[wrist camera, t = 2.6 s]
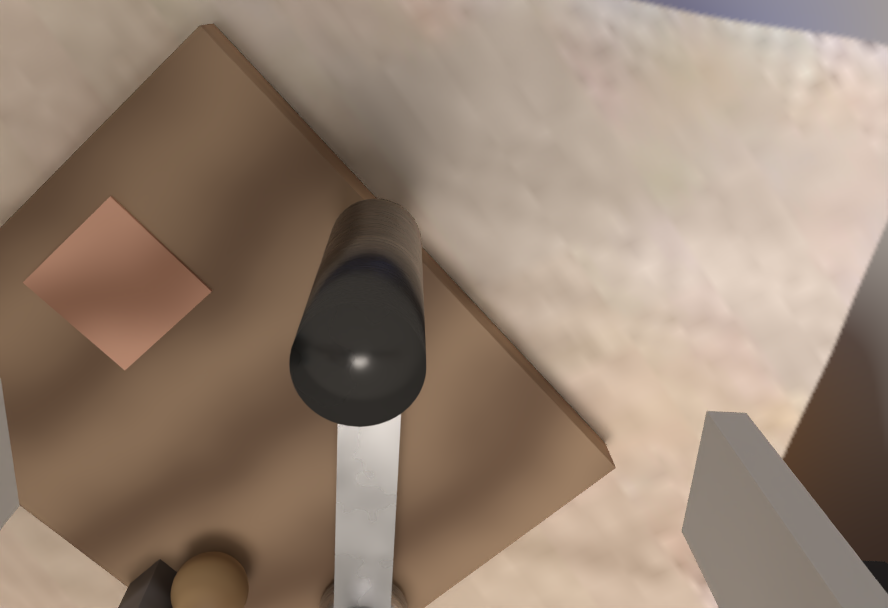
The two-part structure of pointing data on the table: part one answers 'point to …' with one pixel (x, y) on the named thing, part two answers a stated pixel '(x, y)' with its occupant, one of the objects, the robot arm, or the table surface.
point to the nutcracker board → (242, 363)
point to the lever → (364, 383)
